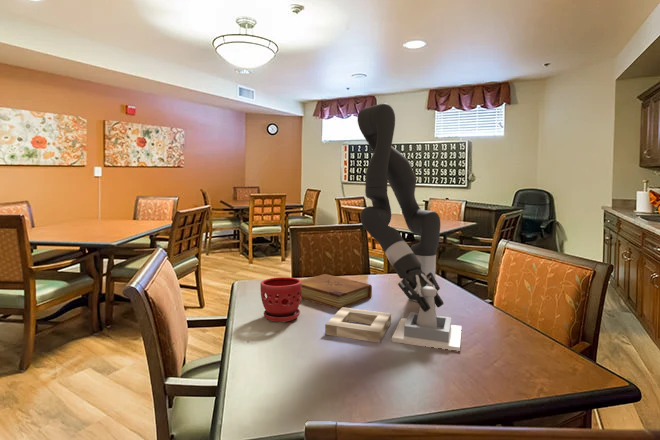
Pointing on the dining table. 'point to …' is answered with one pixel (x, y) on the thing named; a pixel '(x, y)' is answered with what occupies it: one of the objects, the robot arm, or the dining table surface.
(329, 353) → the dining table surface
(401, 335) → the socket plate
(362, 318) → the birch holder block
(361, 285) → the diary
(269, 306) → the plant pot
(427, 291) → the salt shaker
